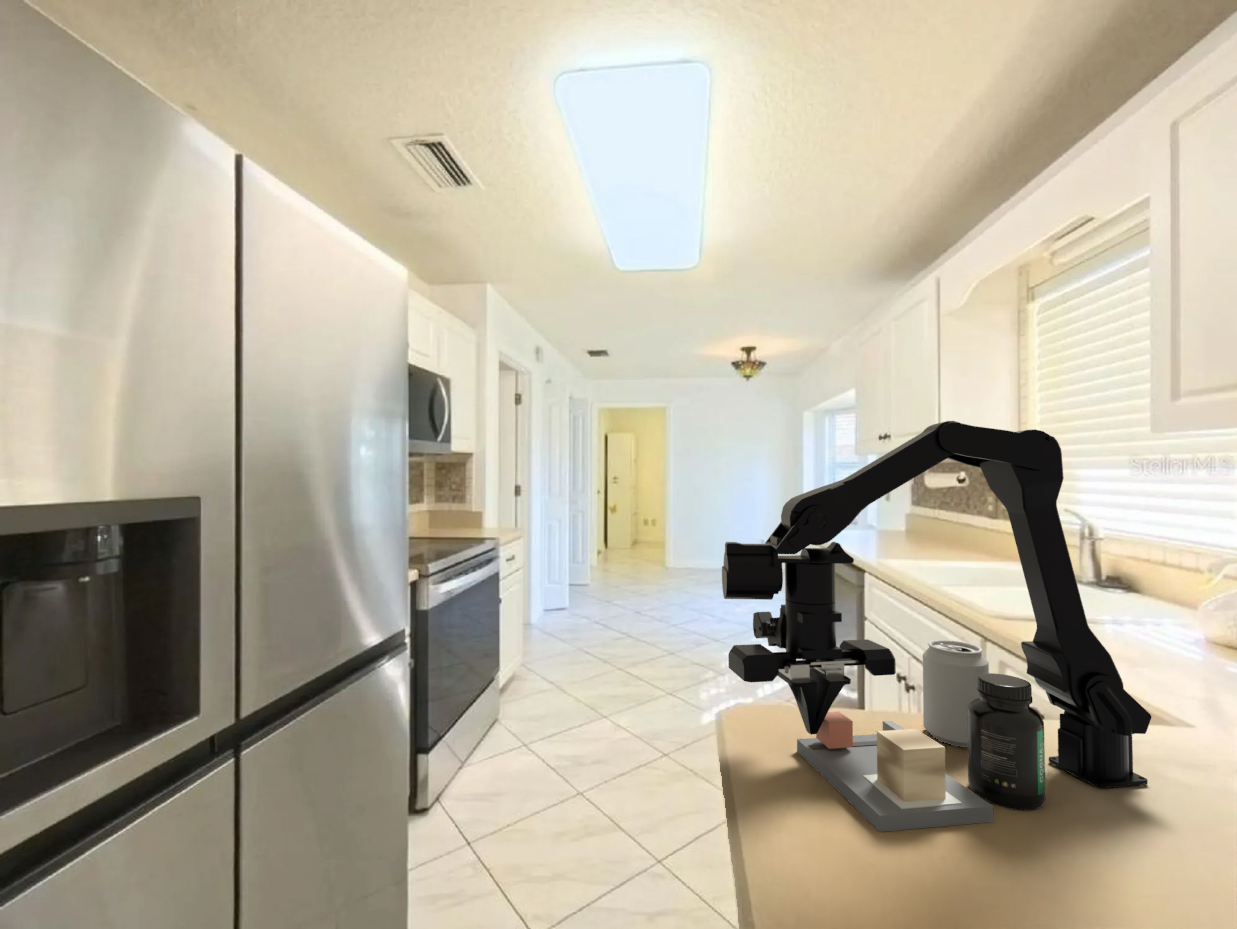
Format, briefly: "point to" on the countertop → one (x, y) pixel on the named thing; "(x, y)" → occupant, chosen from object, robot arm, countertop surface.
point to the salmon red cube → (836, 731)
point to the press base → (876, 802)
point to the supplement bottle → (1006, 744)
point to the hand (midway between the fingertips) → (811, 732)
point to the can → (950, 688)
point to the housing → (911, 765)
